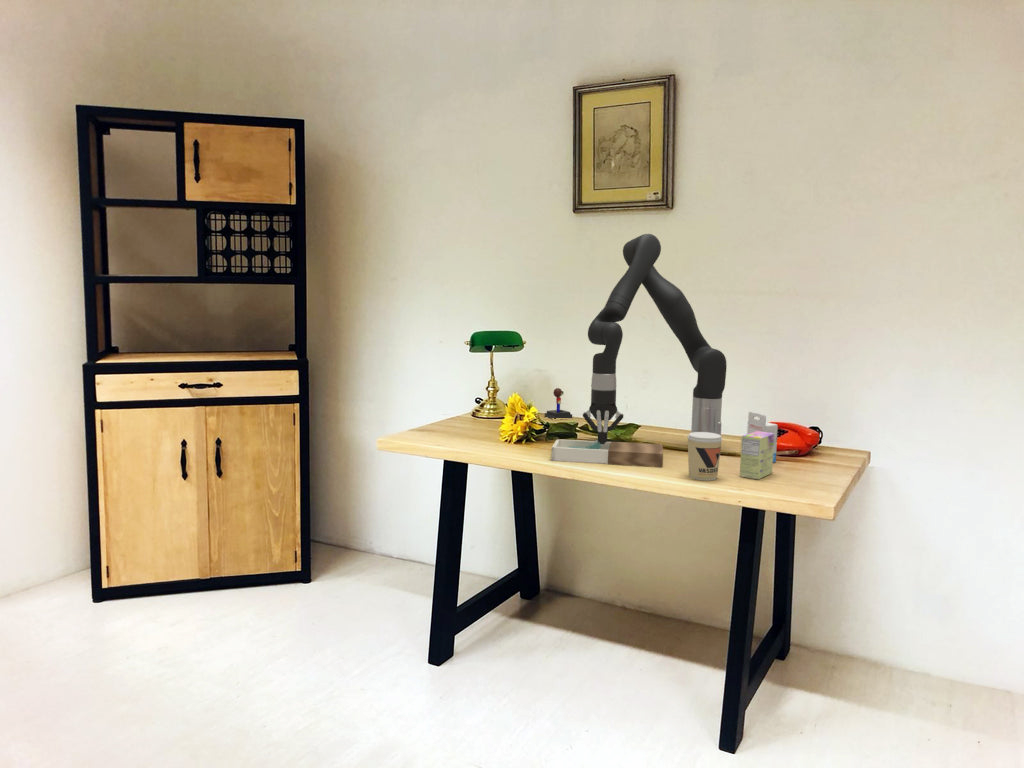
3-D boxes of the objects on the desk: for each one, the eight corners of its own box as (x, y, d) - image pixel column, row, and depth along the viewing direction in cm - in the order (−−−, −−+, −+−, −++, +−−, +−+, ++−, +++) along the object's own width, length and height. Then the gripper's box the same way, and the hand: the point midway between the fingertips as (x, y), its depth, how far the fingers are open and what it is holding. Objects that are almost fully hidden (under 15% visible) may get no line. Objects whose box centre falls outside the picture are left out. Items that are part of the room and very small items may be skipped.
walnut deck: (661, 456, 238) (662, 444, 237) (662, 467, 224) (663, 453, 223) (610, 454, 240) (610, 441, 240) (607, 464, 227) (608, 450, 226)
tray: (610, 454, 240) (610, 441, 239) (607, 463, 227) (608, 450, 227) (556, 451, 243) (556, 439, 242) (551, 460, 230) (551, 447, 230)
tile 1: (569, 446, 238) (569, 452, 239) (567, 449, 234) (567, 456, 234) (585, 447, 238) (585, 453, 238) (583, 450, 233) (583, 457, 233)
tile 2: (602, 443, 237) (598, 438, 237) (601, 447, 232) (597, 441, 232) (588, 452, 238) (585, 447, 238) (587, 456, 233) (583, 450, 233)
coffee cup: (696, 482, 207) (698, 438, 206) (679, 473, 216) (681, 432, 215) (726, 480, 210) (728, 437, 208) (709, 472, 219) (711, 431, 217)
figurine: (572, 418, 304) (573, 388, 303) (554, 420, 300) (555, 389, 298) (562, 415, 310) (562, 386, 309) (544, 417, 306) (545, 387, 305)
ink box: (776, 462, 232) (779, 414, 230) (763, 463, 230) (766, 415, 228) (758, 456, 240) (760, 410, 238) (745, 457, 238) (747, 411, 236)
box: (753, 470, 222) (755, 430, 221) (772, 473, 219) (774, 433, 217) (738, 476, 214) (741, 435, 213) (758, 480, 211) (761, 438, 209)
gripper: (626, 386, 234) (624, 442, 236) (583, 385, 236) (581, 440, 238) (625, 390, 226) (623, 447, 229) (580, 388, 229) (579, 445, 231)
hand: (602, 443), depth 233 cm, fingers closed
